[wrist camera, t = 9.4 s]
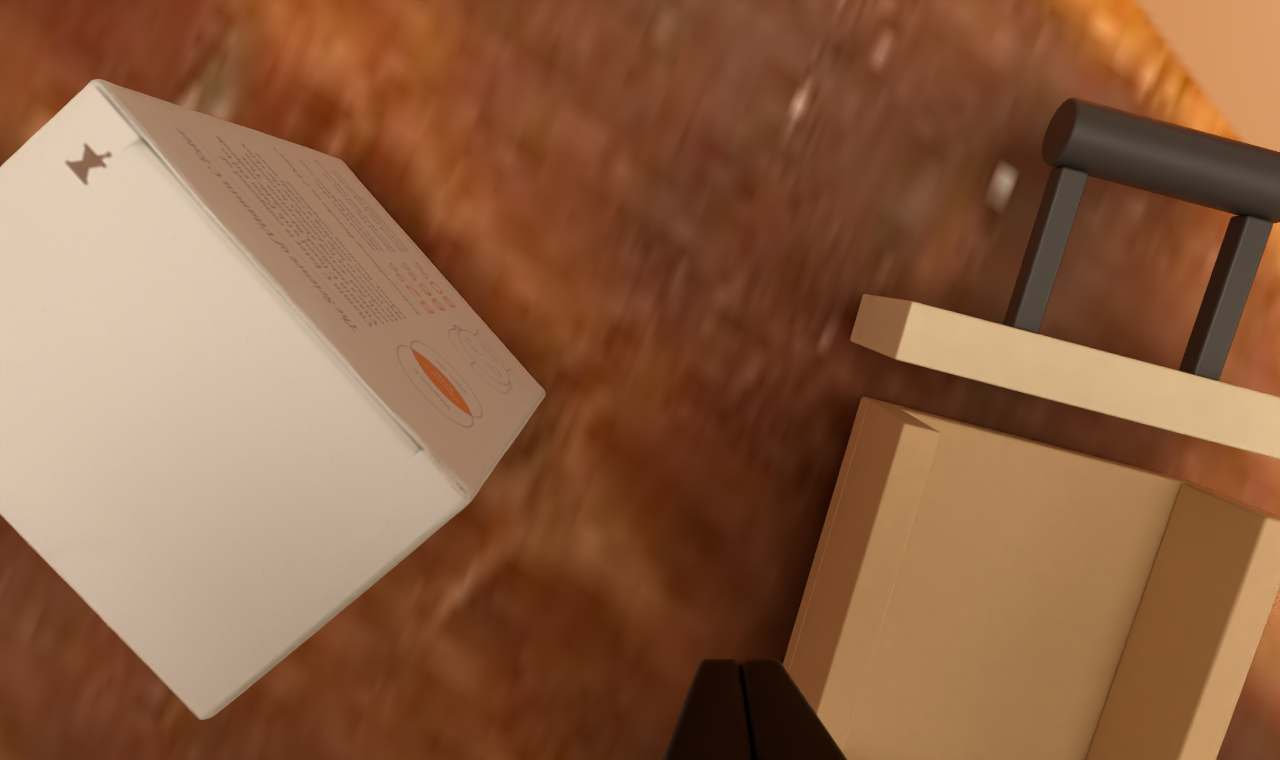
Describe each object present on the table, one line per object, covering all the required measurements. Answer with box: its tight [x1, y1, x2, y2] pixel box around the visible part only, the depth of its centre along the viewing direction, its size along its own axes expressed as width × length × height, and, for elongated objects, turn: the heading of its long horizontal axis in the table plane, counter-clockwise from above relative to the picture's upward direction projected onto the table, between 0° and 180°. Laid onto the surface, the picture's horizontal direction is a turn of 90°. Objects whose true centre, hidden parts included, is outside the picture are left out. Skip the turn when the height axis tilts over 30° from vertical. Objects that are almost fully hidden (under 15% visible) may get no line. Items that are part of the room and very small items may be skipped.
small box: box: [0, 79, 546, 720], centre depth 18 cm, size 8×6×10 cm
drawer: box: [783, 98, 1280, 760], centre depth 20 cm, size 17×10×4 cm, turn 166°
